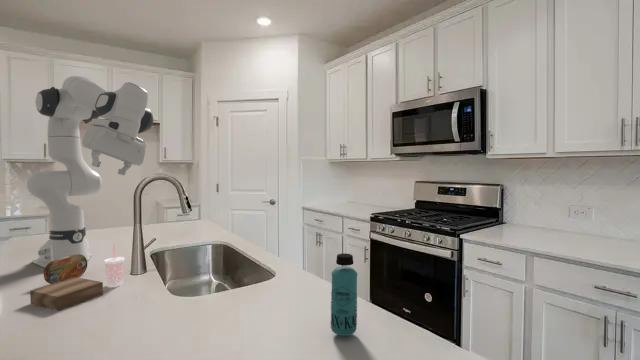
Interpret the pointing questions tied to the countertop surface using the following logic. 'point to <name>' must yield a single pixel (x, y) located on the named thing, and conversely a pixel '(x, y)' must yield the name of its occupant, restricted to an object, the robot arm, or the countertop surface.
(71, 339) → the countertop surface
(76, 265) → the tin
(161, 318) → the countertop surface
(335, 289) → the beverage bottle
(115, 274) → the beverage cup
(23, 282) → the countertop surface
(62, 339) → the countertop surface
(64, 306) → the walnut pedestal
